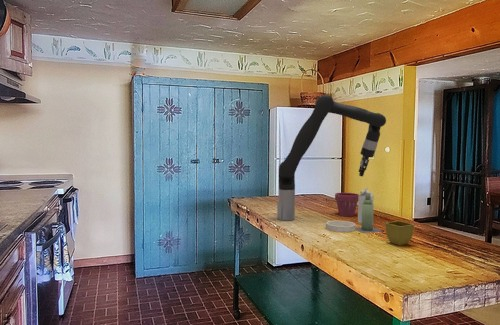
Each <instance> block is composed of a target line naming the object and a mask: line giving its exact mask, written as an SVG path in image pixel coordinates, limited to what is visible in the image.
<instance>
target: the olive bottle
mask: <svg viewBox="0 0 500 325" xmlns="http://www.w3.org/2000/svg"><path fill="white" fill-rule="evenodd" d="M371 193H372V192H370V193H365V199H364V203H362V222H361V223H360V224H361V226H360V227H361V229H362V230H364V231H372V230H373V228H374V207H375V206H374V203H373V204H372V200H370V194H371Z"/></svg>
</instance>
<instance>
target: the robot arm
mask: <svg viewBox="0 0 500 325" xmlns="http://www.w3.org/2000/svg"><path fill="white" fill-rule="evenodd" d="M328 114H334V115H339V116H342V117H346V118H349V119H351V120H354V121H358V122H361V123H366V124H368V130H367V133H366V136H365V139H364V141H363V144H362V146H361V150H360V152H359V153H360V155H362V157H361V158H360V159H361V160H360V162H359V163H360V164H359V169H358V174H359V175H358V176H359V177H364V175H365V172H366V170H367V168H368V165H369V162H370V159H369V158H374V157H375V154H376V153H375V152H376V150H377V147H378V142H379V140H380V137H381V127H384V126H385V125H386V123H387V118H386V116H385V115H384V114H382V113H379V112H374V111H373V112H372V111H369V110H368V109H366V108H361V107H358V106H354V105H348V104H344V103H340V102H337V101H335V100H334V99H333V97H332V96H331V95H329V94H324V95H323V94H322V95H320V96H319V97H318V98H317V99H316V101H315V104H314V108H313V111H312V113H311V115H309V117H308V119H307V120H306V121H305V122H304V123H303V125H302V127H301V128H300V130H299V131H298V133H297V135H296V136H295V139H294V140H293V144H292V146H291V148H290V151H289V153H288V155H287V156H286V157H285V159H284V160H283V161H282V162H280V164H279V165H278V201H277V203H276V204H277V207H276V208H277V210H276V211H277V212H276V216H277V217H276V218H277V220H279V221H295V218H296V216H295V212H296V209H295V208H296V205H295V204H296V203H295V202H296V197H295V196H296V183H295V182H296V181H295V174H296V171H297V168H298V167H299V164H300V162H301V160H302V158H303V157H304V156H305V154H306V153H307V152H308V149H309V148H310V146H311V145H312V143H313V142H314V140H315V138H316V136H317V134H318V133H319V130H320V127H321V126H322V124H323V122H324V120H325V118H326V117H327V116H328Z"/></svg>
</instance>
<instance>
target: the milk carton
mask: <svg viewBox="0 0 500 325" xmlns="http://www.w3.org/2000/svg"><path fill="white" fill-rule="evenodd" d="M359 193H360V194H359V196H358V203H357V207H358V208H357V223H359V224H361V222H362V203H364V199H365V193H371V194H370V200H372V204H374V194H373V193H372V192H370V191H369V190H368V187H366V188H365V189H364V190H363V189H362V190H361V191H360V192H359Z"/></svg>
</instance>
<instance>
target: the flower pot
mask: <svg viewBox="0 0 500 325" xmlns="http://www.w3.org/2000/svg"><path fill="white" fill-rule="evenodd" d="M384 227H385V234H386V238H388V241H389V242H390V243H391V244H395V245H397V246H403V245H408V244H409V243H410V242H411V240H412V238H413V234H414V230H415V224H414V223H409V222H406V221H401V220H394V221H388V222H384Z"/></svg>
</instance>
